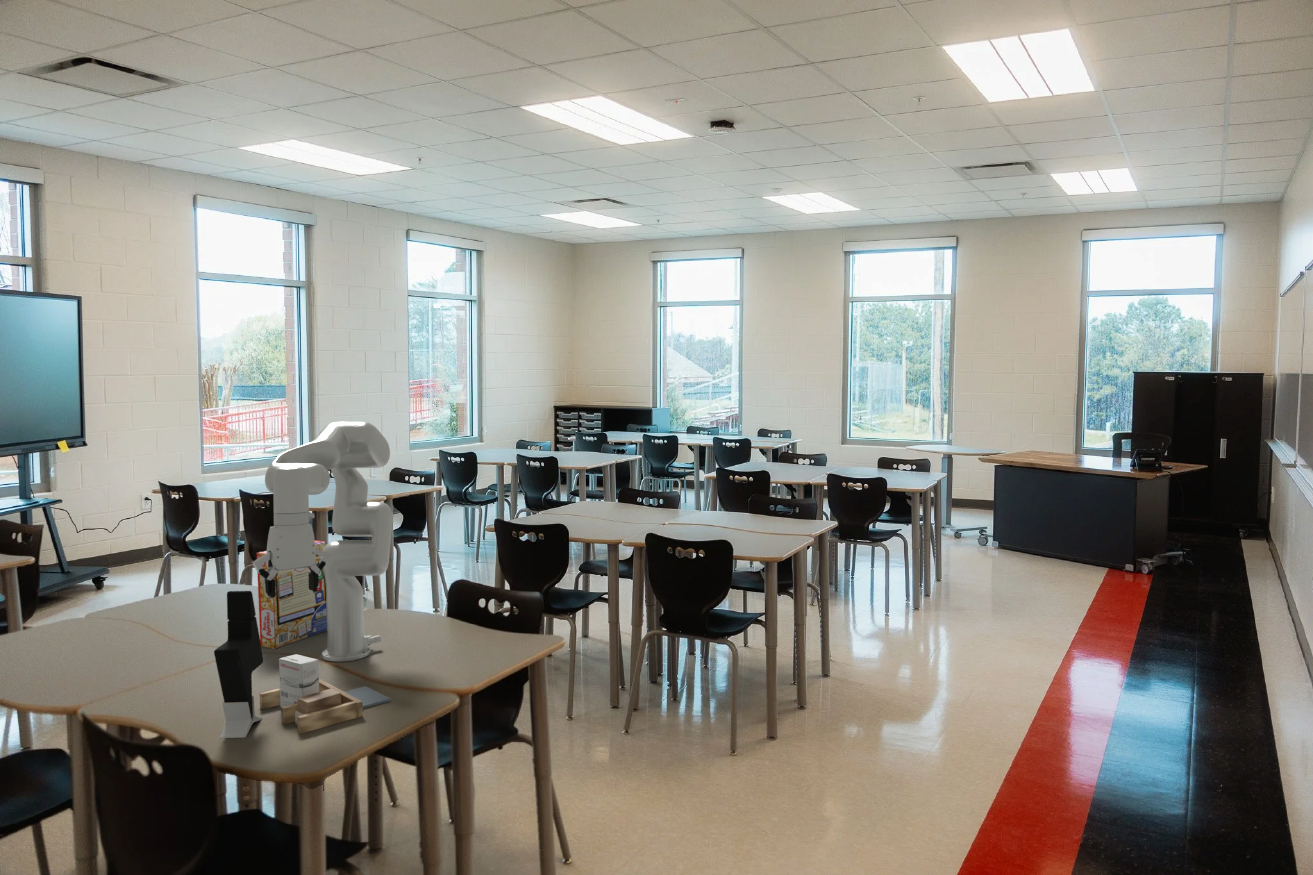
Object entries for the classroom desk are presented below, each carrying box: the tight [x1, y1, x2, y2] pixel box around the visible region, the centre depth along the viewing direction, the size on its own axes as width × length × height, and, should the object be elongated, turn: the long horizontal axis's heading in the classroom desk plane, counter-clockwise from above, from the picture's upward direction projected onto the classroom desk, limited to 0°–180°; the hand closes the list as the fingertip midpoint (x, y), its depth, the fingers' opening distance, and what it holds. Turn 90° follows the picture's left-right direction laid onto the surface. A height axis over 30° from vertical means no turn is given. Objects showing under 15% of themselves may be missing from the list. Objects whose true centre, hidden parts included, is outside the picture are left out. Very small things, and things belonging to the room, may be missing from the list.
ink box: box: [278, 654, 320, 709], centre depth 210 cm, size 9×5×12 cm, turn 58°
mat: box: [344, 685, 391, 710], centre depth 217 cm, size 8×12×1 cm, turn 45°
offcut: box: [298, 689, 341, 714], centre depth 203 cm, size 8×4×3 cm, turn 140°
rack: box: [259, 678, 364, 735], centre depth 208 cm, size 14×22×4 cm, turn 45°
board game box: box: [256, 540, 327, 650], centre depth 264 cm, size 20×6×27 cm, turn 154°
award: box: [213, 590, 264, 739], centre depth 198 cm, size 15×5×30 cm, turn 5°
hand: (292, 593), depth 211 cm, fingers open, 9 cm apart
